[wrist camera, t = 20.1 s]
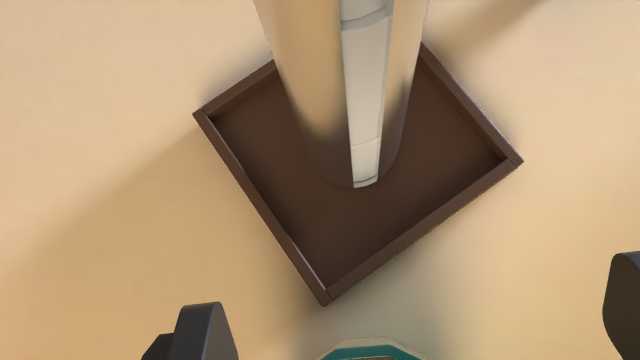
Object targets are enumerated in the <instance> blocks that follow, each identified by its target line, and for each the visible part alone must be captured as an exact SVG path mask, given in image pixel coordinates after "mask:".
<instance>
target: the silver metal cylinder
mask: <svg viewBox="0 0 640 360" xmlns="http://www.w3.org/2000/svg"><path fill="white" fill-rule="evenodd" d="M253 2H254V5H255V8H256V11H257V13H258V16H259V19H260V22H261V24H262V27H263V30H264V33H265V36H266V38H267V41H268V44H269V47H270V49H271V52H272V55H273V58H274V61H275V63H276V66H277V69H278V72H279V74H280V77H281V80H282V83H283V86H284V88H285V91H286V94H287V97H288V99H289V102H290V105H291V108H292V111H293V113H294V116H295V119H296V122H297V124H298V127H299V130H300V133H301V136H302V138H303V141H304V144H305V147H306V149H307V152H308V155H309V158H310V160H311V162H312V164H313V167H314V168H315V170H316V171H317V172H318V173H319V174H320V176H321V177H323V178H324V179H325V180H327V181H328V182H330V183H331V184H334V185H337V186H340V187H343V188H360V187H366V186H368V185H371V184H373V183H375V182H377V181H378V180H380V179H381V178H382V177H383V176H385V175H386V174H387V172H388V171H389V170H390V168H391V167H392V166H393V164H394V161H395V158H396V156H397V152H398V147H399V143H400V138H401V133H402V128H403V124H404V119H405V114H406V109H407V104H408V100H409V95H410V90H411V85H412V81H413V76H414V71H415V66H416V61H417V57H418V52H419V47H420V42H421V38H422V33H423V28H424V23H425V18H426V14H427V9H428V4H429V0H253Z"/></svg>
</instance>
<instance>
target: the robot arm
mask: <svg viewBox="0 0 640 360" xmlns="http://www.w3.org/2000/svg"><path fill="white" fill-rule="evenodd" d="M602 314H603V322H604V326H605V329H606V332H607V334H608V336H609V338H610V340H611V342H612V343H613V345H614V346H615V348H616V349H617V351H618V352H619V354H620V355H621V357H622V358H623V360H640V251H634V252H626V253H618V254H616V255H615V256H614V257H613V259H612V262H611V267H610V272H609V277H608V282H607V288H606V293H605V298H604V304H603V312H602ZM141 360H239V359H238V353H237V349H236V346H235V343H234V340H233V337H232V334H231V331H230V328H229V325H228V322H227V318H226V315H225V312H224V309H223V306H222V304H221V303H220V302H210V303H202V304H194V305H186V306H183V307H182V308H181V310H180V313H179V317H178V320H177V324H176V327H175V330H174V333H168V334H160V335H159V336H158V337H157V338H156V339H155V341H154V342H153V343H152V345H151V346H150V347H149V348H148V350H147V351H146V352H145V353H144V355H143V356H142V359H141Z"/></svg>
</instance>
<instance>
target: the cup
mask: <svg viewBox="0 0 640 360" xmlns="http://www.w3.org/2000/svg"><path fill="white" fill-rule="evenodd" d="M376 357H390V358H392V359H394V360H429V359H427V358H426V357H425V356H423V355H421V354H419V353H417V352H415V351H413V350H411V349H409V348H407V347H405V346H403V345H401V344H399V343H397V342H395V341H392V340H390V339H388V338H386V337H373V338H361V339H349V340H342V341H340V342H338V343H337V344H336V345H334V346H333V347H332V348H330V349H329V350H328V351H326V352H325V353H323V354H322V355H321V356H319V357H318V358H317V359H315V360H352V359H364V358H376Z"/></svg>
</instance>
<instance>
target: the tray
mask: <svg viewBox="0 0 640 360" xmlns="http://www.w3.org/2000/svg"><path fill="white" fill-rule="evenodd" d="M192 115H193V117H194V118H195V120H196V121H197V123H198V124H199V125H200V127H201V128H202V130H203V131H204V133H205V134H206V136H207V137H208V139H209V140H210V142H211V143H212V145H213V146H214V148H215V149H216V151H217V152H218V154H219V155H220V157H221V158H222V159H223V161H224V162H225V164H226V165H227V167H228V168H229V170H230V171H231V173H232V174H233V176H234V177H235V179H236V180H237V182H238V183H239V185H240V186H241V188H242V189H243V190H244V192H245V193H246V195H247V196H248V198H249V199H250V201H251V202H252V204H253V205H254V207H255V208H256V210H257V211H258V213H259V214H260V216H261V217H262V219H263V220H264V222H265V223H266V224H267V226H268V227H269V229H270V230H271V232H272V233H273V235H274V236H275V238H276V239H277V241H278V242H279V244H280V245H281V247H282V248H283V250H284V251H285V253H286V254H287V256H288V257H289V258H290V260H291V261H292V263H293V264H294V266H295V267H296V269H297V270H298V272H299V273H300V275H301V276H302V278H303V279H304V281H305V282H306V284H307V285H308V287H309V288H310V289H311V291H312V292H313V294H314V295H315V297H316V298H317V300H318V301H319V303H320V304H321V306H322V307H326V306H327V305H329V304H330V303H331V302H333V301H334V300H335V299H337V298H338V297H340V296H341V295H342V294H344V293H345V292H347V291H348V290H349V289H351V288H352V287H353V286H355V285H356V284H358V283H359V282H360V281H362V280H363V279H365V278H366V277H367V276H369V275H370V274H371V273H373V272H374V271H376V270H377V269H378V268H380V267H381V266H383V265H384V264H385V263H387V262H388V261H389V260H391V259H392V258H394V257H395V256H396V255H398V254H399V253H401V252H402V251H403V250H405V249H406V248H407V247H409V246H410V245H412V244H413V243H414V242H416V241H417V240H419V239H420V238H421V237H423V236H424V235H425V234H427V233H428V232H430V231H431V230H432V229H434V228H435V227H437V226H438V225H439V224H441V223H442V222H443V221H445V220H446V219H448V218H449V217H450V216H452V215H453V214H455V213H456V212H457V211H459V210H460V209H461V208H463V207H464V206H466V205H467V204H468V203H470V202H471V201H473V200H474V199H475V198H477V197H478V196H479V195H481V194H482V193H484V192H485V191H486V190H488V189H489V188H491V187H492V186H493V185H495V184H496V183H497V182H499V181H500V180H502V179H503V178H504V177H506V176H507V175H509V174H510V173H511V172H513V171H514V170H515V169H517V168H518V167H519V166H520V165H521V164H522V163H523V162H524V160H523V159H522V157H521V156H520V155H519V154H518V153H517V152H516V150H515V149H514V148H513V147H512V146H511V145H510V143H509V142H508V141H507V140H506V139H505V138H504V137H503V135H502V134H501V133H500V132H499V131H498V130H497V128H496V127H495V126H494V125H493V124H492V123H491V121H490V120H489V119H488V118H487V117H486V116H485V115H484V113H483V112H482V111H481V110H480V109H479V108H478V106H477V105H476V104H475V103H474V102H473V101H472V99H471V98H470V97H469V96H468V95H467V94H466V93H465V91H464V90H463V89H462V88H461V87H460V86H459V84H458V83H457V82H456V81H455V80H454V79H453V77H452V76H451V75H450V74H449V73H448V72H447V71H446V69H445V68H444V67H443V66H442V65H441V64H440V62H439V61H438V60H437V59H436V58H435V57H434V55H433V54H432V53H431V52H430V51H429V50H428V48H427V47H426V46H425V45H424V44H423V43H422V42H420V47H419V52H418V57H417V61H416V66H415V71H414V76H413V81H412V85H411V90H410V95H409V100H408V104H407V109H406V114H405V119H404V124H403V128H402V133H401V138H400V143H399V147H398V152H397V156H396V158H395V161H394V164H393V166H392V167H391V168H390V170H389V171H388V172H387V174H386V175H385V176H383V177H382V178H381V179H380V180H378V181H377V182H375V183H373V184H371V185H368V186H366V187H360V188H343V187H340V186H337V185H334V184H331V183H330V182H328V181H327V180H325V179H324V178H323V177H321V176H320V174H319V173H318V172H317V171H316V170H315V168H314V167H313V164H312V162H311V160H310V158H309V155H308V152H307V149H306V147H305V144H304V141H303V138H302V136H301V133H300V130H299V127H298V124H297V122H296V119H295V116H294V113H293V111H292V108H291V105H290V102H289V99H288V97H287V94H286V91H285V88H284V86H283V83H282V80H281V77H280V74H279V72H278V69H277V66H276V63H275V61H274V59H273V60H271V61H270V62H268V63H267V64H265V65H264V66H262V67H261V68H259V69H258V70H256V71H255V72H253V73H252V74H250V75H249V76H247V77H246V78H245V79H243V80H242V81H240V82H239V83H237V84H236V85H234V86H233V87H231V88H230V89H228V90H227V91H225V92H224V93H222V94H221V95H219V96H218V97H216V98H215V99H213V100H212V101H210V102H209V103H207V104H206V105H204V106H203V107H202V109H201V108H200V109H198V110H197V111H195V112H194V113H193V114H192Z"/></svg>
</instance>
